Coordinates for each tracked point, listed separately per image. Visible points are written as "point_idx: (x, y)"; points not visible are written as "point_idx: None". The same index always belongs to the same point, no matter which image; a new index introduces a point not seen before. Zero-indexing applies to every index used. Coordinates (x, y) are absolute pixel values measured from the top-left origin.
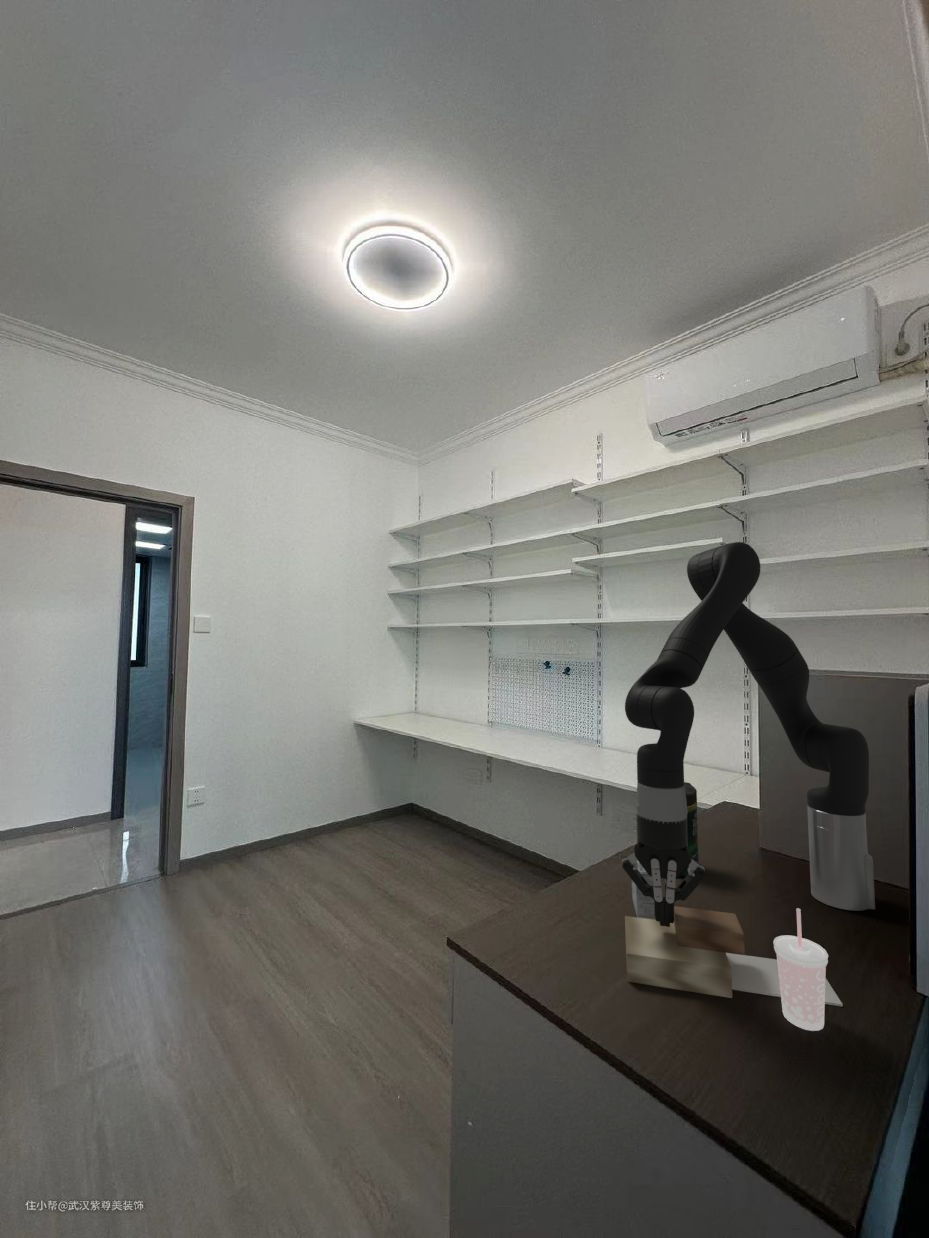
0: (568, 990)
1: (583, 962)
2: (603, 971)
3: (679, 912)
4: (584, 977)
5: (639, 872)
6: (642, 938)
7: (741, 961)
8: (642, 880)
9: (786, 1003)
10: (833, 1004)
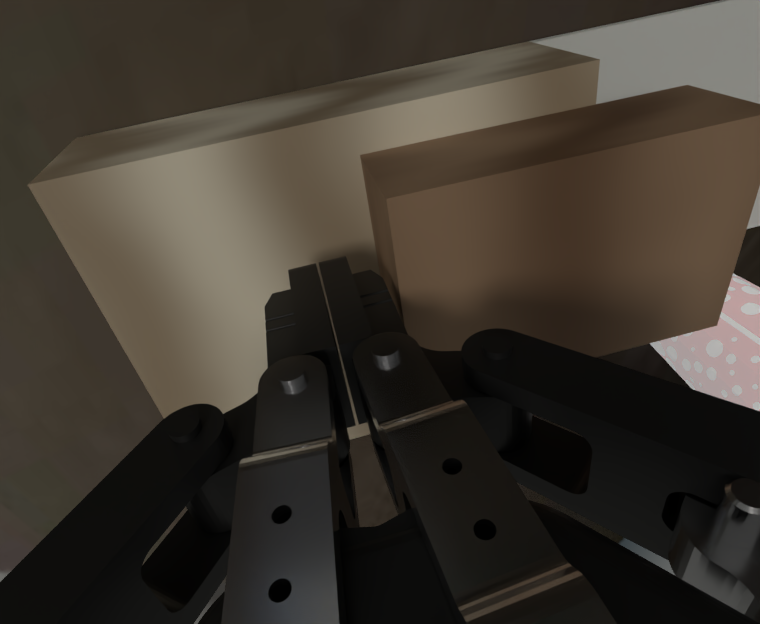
0: (60, 514)
1: (6, 388)
2: (107, 396)
3: (425, 267)
4: (66, 450)
5: (108, 581)
6: (226, 364)
7: (618, 88)
8: (190, 600)
9: (670, 363)
10: None
